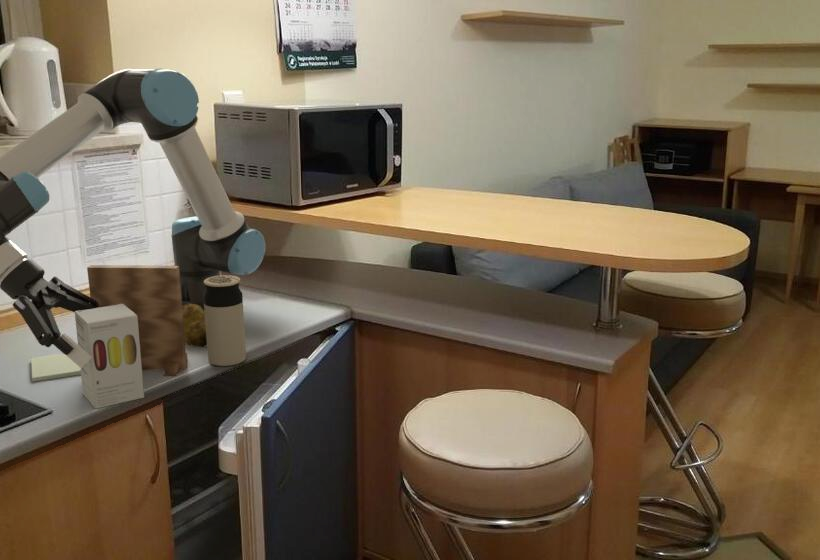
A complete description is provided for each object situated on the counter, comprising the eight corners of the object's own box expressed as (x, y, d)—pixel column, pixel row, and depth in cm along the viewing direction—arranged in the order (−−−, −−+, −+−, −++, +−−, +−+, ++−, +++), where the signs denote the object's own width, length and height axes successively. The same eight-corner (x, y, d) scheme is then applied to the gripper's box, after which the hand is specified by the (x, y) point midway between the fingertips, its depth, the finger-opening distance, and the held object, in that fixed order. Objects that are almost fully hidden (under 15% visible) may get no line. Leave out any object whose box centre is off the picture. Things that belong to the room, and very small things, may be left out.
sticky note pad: (82, 354, 173) (81, 350, 173) (86, 373, 162) (85, 369, 162) (31, 361, 169) (31, 358, 168) (32, 381, 158) (32, 377, 158)
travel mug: (215, 369, 164) (209, 287, 160) (203, 358, 171) (197, 278, 166) (251, 362, 169) (247, 281, 164) (238, 351, 175) (233, 272, 170)
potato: (176, 352, 174) (173, 318, 172) (175, 333, 186) (173, 301, 184) (215, 348, 176) (212, 314, 174) (212, 330, 188) (209, 298, 186)
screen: (191, 361, 169) (183, 262, 163) (179, 376, 161) (171, 272, 155) (108, 360, 169) (97, 261, 163) (92, 375, 162) (80, 271, 156)
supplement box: (94, 410, 146) (84, 323, 141) (81, 393, 153) (71, 310, 148) (146, 397, 151) (138, 314, 146) (131, 382, 158) (123, 301, 154)
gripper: (34, 268, 158) (115, 340, 162) (-38, 305, 134) (59, 388, 138) (57, 242, 156) (139, 315, 160) (-12, 275, 132) (86, 360, 136)
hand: (102, 349), depth 149 cm, fingers open, 13 cm apart
